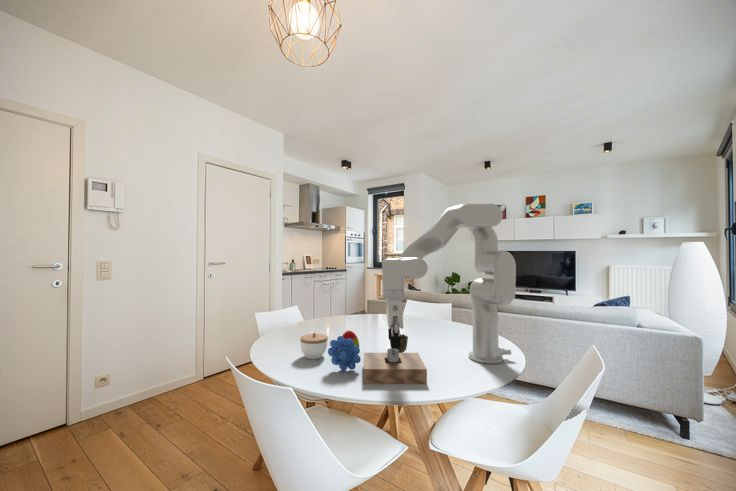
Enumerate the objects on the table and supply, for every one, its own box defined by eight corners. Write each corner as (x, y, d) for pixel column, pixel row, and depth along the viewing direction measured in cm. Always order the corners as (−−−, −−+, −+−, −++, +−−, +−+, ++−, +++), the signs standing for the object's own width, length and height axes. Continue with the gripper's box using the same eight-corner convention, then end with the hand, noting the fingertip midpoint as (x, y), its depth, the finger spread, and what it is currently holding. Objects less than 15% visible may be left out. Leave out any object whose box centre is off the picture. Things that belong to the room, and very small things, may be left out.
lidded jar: (327, 351, 126) (327, 329, 126) (327, 360, 115) (328, 336, 116) (300, 353, 124) (301, 330, 124) (299, 362, 114) (299, 337, 114)
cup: (407, 353, 124) (407, 333, 125) (408, 359, 117) (408, 338, 117) (389, 352, 125) (389, 333, 125) (389, 358, 118) (389, 338, 118)
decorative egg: (355, 351, 126) (356, 327, 126) (361, 358, 118) (361, 332, 119) (336, 353, 123) (337, 329, 124) (341, 360, 116) (341, 334, 116)
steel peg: (398, 371, 105) (398, 348, 105) (399, 376, 101) (399, 352, 101) (386, 371, 105) (386, 348, 105) (387, 376, 101) (387, 352, 101)
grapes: (325, 375, 102) (326, 339, 102) (328, 367, 108) (328, 334, 109) (360, 375, 101) (360, 339, 102) (360, 367, 108) (360, 334, 109)
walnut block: (417, 365, 111) (417, 352, 111) (426, 383, 95) (426, 369, 95) (363, 364, 111) (363, 352, 111) (363, 383, 95) (363, 369, 95)
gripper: (407, 297, 95) (408, 351, 95) (401, 290, 113) (402, 336, 112) (384, 298, 95) (385, 352, 95) (381, 291, 113) (382, 336, 112)
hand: (394, 343), depth 104 cm, fingers open, 9 cm apart
